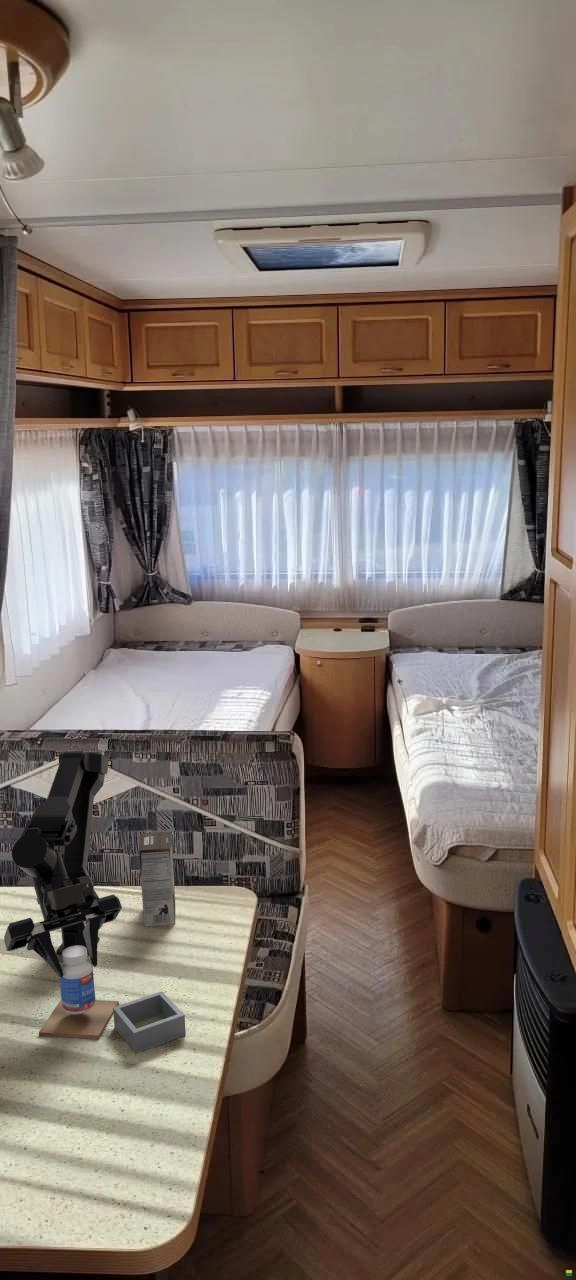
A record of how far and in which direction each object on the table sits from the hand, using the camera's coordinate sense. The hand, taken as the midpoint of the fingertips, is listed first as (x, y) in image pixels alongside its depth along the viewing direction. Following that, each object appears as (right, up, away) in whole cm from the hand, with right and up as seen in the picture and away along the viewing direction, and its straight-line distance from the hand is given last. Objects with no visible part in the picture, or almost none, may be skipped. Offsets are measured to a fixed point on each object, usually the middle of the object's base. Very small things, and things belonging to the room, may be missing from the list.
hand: (78, 971), depth 157 cm
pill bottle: (0, -7, +3) cm, 7 cm away
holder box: (+12, -9, -1) cm, 15 cm away
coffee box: (+8, -2, +39) cm, 40 cm away
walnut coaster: (0, -9, +3) cm, 9 cm away
